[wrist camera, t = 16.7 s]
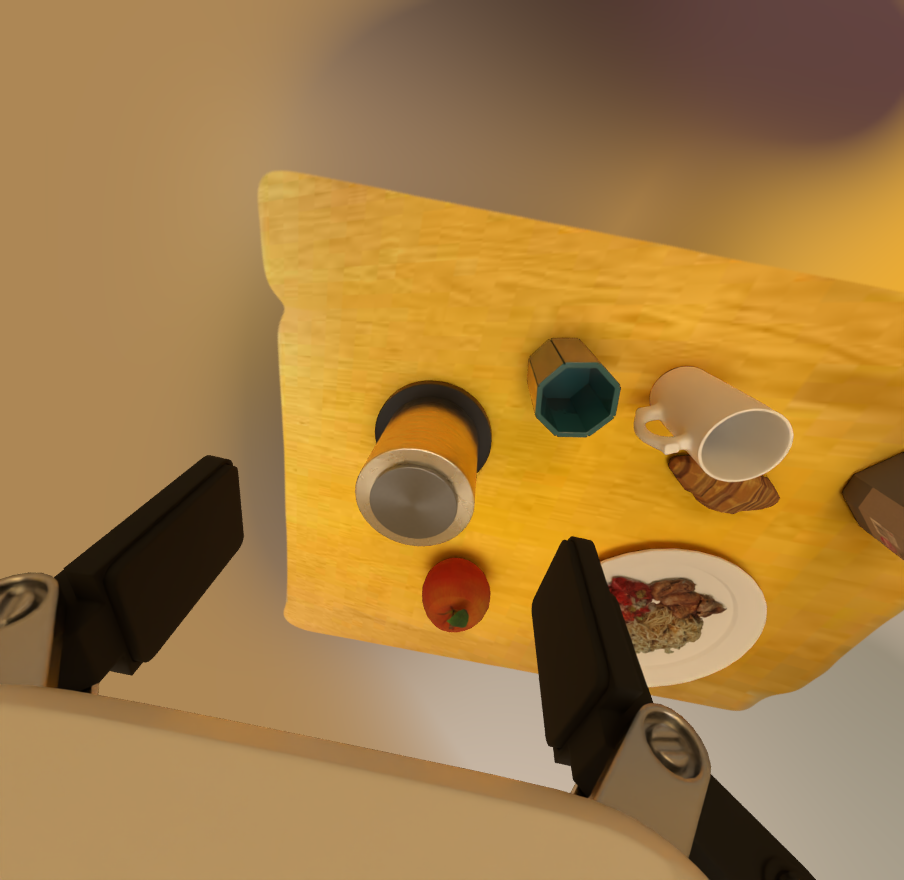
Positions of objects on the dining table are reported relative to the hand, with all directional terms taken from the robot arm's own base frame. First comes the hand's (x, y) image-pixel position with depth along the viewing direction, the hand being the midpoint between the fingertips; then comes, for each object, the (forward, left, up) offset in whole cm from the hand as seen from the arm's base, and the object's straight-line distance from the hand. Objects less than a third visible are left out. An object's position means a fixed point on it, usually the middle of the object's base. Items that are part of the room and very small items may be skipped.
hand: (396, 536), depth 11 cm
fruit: (+26, +25, -33) cm, 49 cm away
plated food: (+11, +50, -33) cm, 61 cm away
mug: (-10, +21, -33) cm, 40 cm away
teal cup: (-4, +11, -33) cm, 34 cm away
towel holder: (+12, +7, -33) cm, 35 cm away
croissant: (-9, +34, -33) cm, 48 cm away
